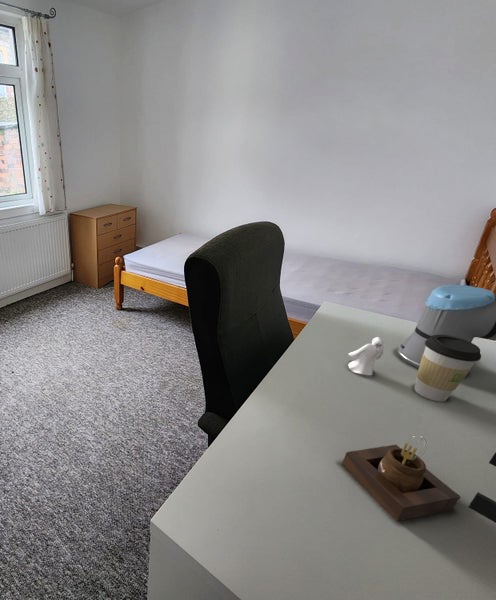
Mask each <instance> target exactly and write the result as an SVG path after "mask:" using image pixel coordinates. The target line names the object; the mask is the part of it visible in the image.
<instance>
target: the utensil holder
mask: <svg viewBox="0 0 496 600" xmlns="http://www.w3.org/2000/svg"><path fill="white" fill-rule="evenodd" d="M413 437H414V438H413ZM412 438H413V440H411V439H409V441H408V442H405V443H404V445H403V447H402V448H401V447H400V448H392V449H390V450H389V452H388V453H387V455H386V456H384V457H383V459H382V460H381V462H380V464H379V466H378V468H377V470H378V471H379V472H380V473H381V474H382V475H383V476H384V477H385V478H386V479H387V480H389V481H390V482H391V483H392V484H393V485H394V486H395V487H396V488H397V489H398V490H399V491H400V492H402V493H408V492H414V491H418V490H419V488H420V486H421V484H422V482H423V479H424V475H423V474H424V473H425V470H426V469H427V465H426V463H425V462H424V460H423V459H422V458H421V457H422V456H423V455H424V454H425V451H426V450H427V448H428V446H427V444H428V442H427V440H426V439H425V438H424V437H422V436H419V435H414V436H412ZM415 439H419V440H418V441H417V444H416V447H414V448H413V445H412V444H413V441H414V440H415ZM410 440H411V442H410ZM422 440H423V442H425V443H424V444H423V445H422V448H421V450H420V452H419V453H418V454H416V452H417V448H418V447H419V445H420V442H421V441H422ZM425 446H426V448H425ZM412 448H413V450H412ZM411 450H412V451H411ZM423 450H424V451H423ZM422 452H423V453H422ZM421 453H422V454H421ZM420 454H421V455H420Z"/></svg>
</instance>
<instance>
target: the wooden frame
mask: <svg viewBox="0 0 496 600" xmlns="http://www.w3.org/2000/svg"><path fill="white" fill-rule="evenodd" d="M392 448H401V447H400V446H399V445H397V444H391V445H383V446H377V447H371V448H365V449H358V450H351V451H346V452H345V455H344V457H343V459H342V462H341V466H342V468H344V470H346V472H348V473H349V475H350V476H352V478H353V479H354V480H356V481H357V482H358V484H360V485H361V487H363V488H364V489H365V491H366V492H367V493H368V494H369V495H370V496H371V497H372V498H373V499H374V500H375V501H376V502H377V503H378V504H379V505H380V506H381V507H382V508H383V509H384V510H385V511H386V512H387V513H388V514H389V515H390V516H391V517H392V518H393V520H395V521H396V522H399V521H404V520H410V519H415V518H419V517H426V516H430V515H435V514H440V513H445V512H446V513H447V512H451V511H453V510H454V508H455V507H456V505H457V503H458V502H459V500H460V499H461V496H460V495H459V494H458V493H457V492H455V491H454V490H453V489H452V488H451V487H450V486H448V485H447V484H446V483H445V482H443V481H442V480H441V479H439V478H438V477H437V476H436V475H435V474H434V473H432V472H431V471H430V470H428V468H426V470H425V473H424V474H423V475H424V479H423V482H422V484H421V486H420V488H419V490H418V491H414V492H408V493H402V492H400V491H399V490H398V489H397V488H396V487H395V486H394V485H393V484H392V483H391V482H390V481H389V480H387V479H386V478H385V477H384V476H383V475H382V474H381V473H380V472H379V471H378V470H377V468H378V466H379V464H380V462H381V460H382V459H383V457H384V456H386V455H387V453H388V452H389V450H390V449H392Z"/></svg>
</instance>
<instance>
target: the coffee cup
mask: <svg viewBox="0 0 496 600" xmlns="http://www.w3.org/2000/svg"><path fill="white" fill-rule="evenodd" d="M425 345H426V347H425V351H424V352H423V355H422V359H421V362H420V366H419V369H417V370H418V371H417V374H416V381H415V385H414V391H415V392H416V393H417V394H418V395H420V396H422V397H423V398H426V399H427V400H431V401H434V402H446V401H447V400H448V398H449V397H450V396H451V394H453V392H454V391H455V390H457V388H458V387H459V385H460V384H461V383H462V381H463V380H464V379H465V377H467V375H468V374H469V372H470V371H471V370H472V368H473V366H474V364H476V362H478V361H481V359H482V353H481V348H480V347H479V346H478V345H476V344H475V343H473V342H469V341H466V340H463V339H460V338H457V337H453V336H448V335H433V336H431V337H430V338H429V339H427V340H426V341H425Z"/></svg>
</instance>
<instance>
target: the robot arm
mask: <svg viewBox="0 0 496 600" xmlns="http://www.w3.org/2000/svg"><path fill="white" fill-rule="evenodd" d="M433 335H448V336H453V337H457V338H460V339H463V340H466V341H469V342H471V343H473V340H474V338H479V339H484V340H491V341H496V295H495V293H494V292H493V291H491V290H490V289H486V288H483V287H478V286H477V287H476V286H472V285H466V284H465V285H463V284H445V285H441V286H438V287H436V288H434V289H433V290H432V291H431V293H430V295H429V297H427V299H426V300H425V305H424V307H423V310H422V312H421V315H420V316H419V319H418V321H417V324H416V326H415V329H414V331H413V332H412V333H411V334H410V335H409V336H408V337H406V339H405V340H404V341H402V343H400V344H399V346H398V348H397V350H396V355H397V357H398V358H399V359H401V360H402V361H403V362H405V363H407V365H410V366H412V367H414V368H416V369H417V370H419V366H420V362H421V359H422V355H423V352H424V351H425V347H426V345H425V341H426V340H427V339H429V338H430V337H431V336H433ZM488 464H490V465H491V466H493V467H496V451H495V452H494V453H493V455H492V456H491V458H490V459H489V462H488ZM468 509H470V510H471V511H474V512H475V513H477V514H479V515H480V516H482V517H484V518H486V519H487V520H490V521H491V522H493V523H495V524H496V501H495V500H493V499H492V498H489V497H488V496H486V495H484V494H482V493H481V492H479V491H478V492H476V494H475V496H474V497H473V498H472V500H471V501H470V503H469V505H468Z"/></svg>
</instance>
